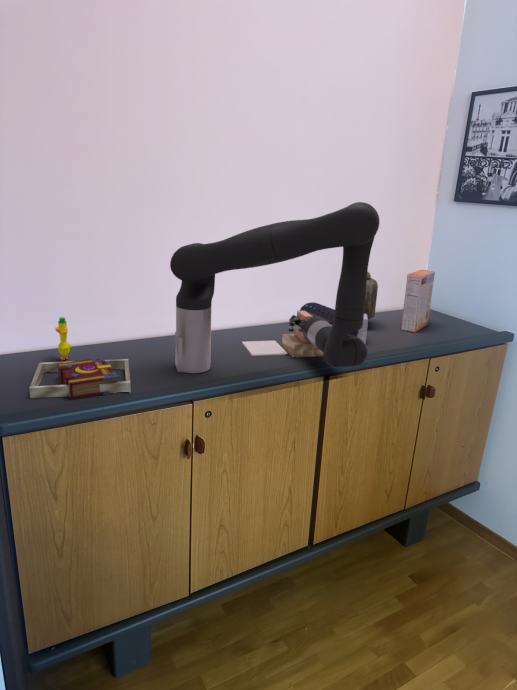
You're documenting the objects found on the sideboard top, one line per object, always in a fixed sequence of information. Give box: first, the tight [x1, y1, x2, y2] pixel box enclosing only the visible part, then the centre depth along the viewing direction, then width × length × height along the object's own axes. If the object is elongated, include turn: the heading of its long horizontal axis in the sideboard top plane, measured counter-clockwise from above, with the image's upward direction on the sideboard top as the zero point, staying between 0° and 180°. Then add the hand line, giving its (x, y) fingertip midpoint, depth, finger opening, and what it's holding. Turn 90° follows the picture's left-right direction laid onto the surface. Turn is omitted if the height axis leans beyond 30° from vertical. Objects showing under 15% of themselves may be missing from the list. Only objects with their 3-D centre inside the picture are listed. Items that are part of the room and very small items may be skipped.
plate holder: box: [281, 333, 324, 358], centre depth 156 cm, size 9×11×4 cm
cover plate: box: [294, 310, 313, 343], centre depth 155 cm, size 2×7×12 cm, turn 15°
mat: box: [241, 340, 289, 357], centre depth 157 cm, size 11×13×1 cm
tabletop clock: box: [364, 271, 379, 320], centre depth 185 cm, size 14×9×25 cm, turn 172°
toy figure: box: [54, 316, 72, 361], centre depth 138 cm, size 7×4×12 cm, turn 42°
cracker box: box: [400, 269, 436, 333], centre depth 186 cm, size 14×6×21 cm, turn 144°
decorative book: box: [57, 356, 120, 400], centre depth 124 cm, size 11×16×5 cm
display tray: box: [28, 358, 132, 399], centre depth 125 cm, size 22×17×2 cm
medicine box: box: [356, 314, 369, 345], centre depth 169 cm, size 8×4×9 cm, turn 171°
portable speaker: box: [299, 301, 359, 336], centre depth 172 cm, size 25×10×10 cm, turn 29°
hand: (300, 318), depth 157 cm, fingers open, 4 cm apart
